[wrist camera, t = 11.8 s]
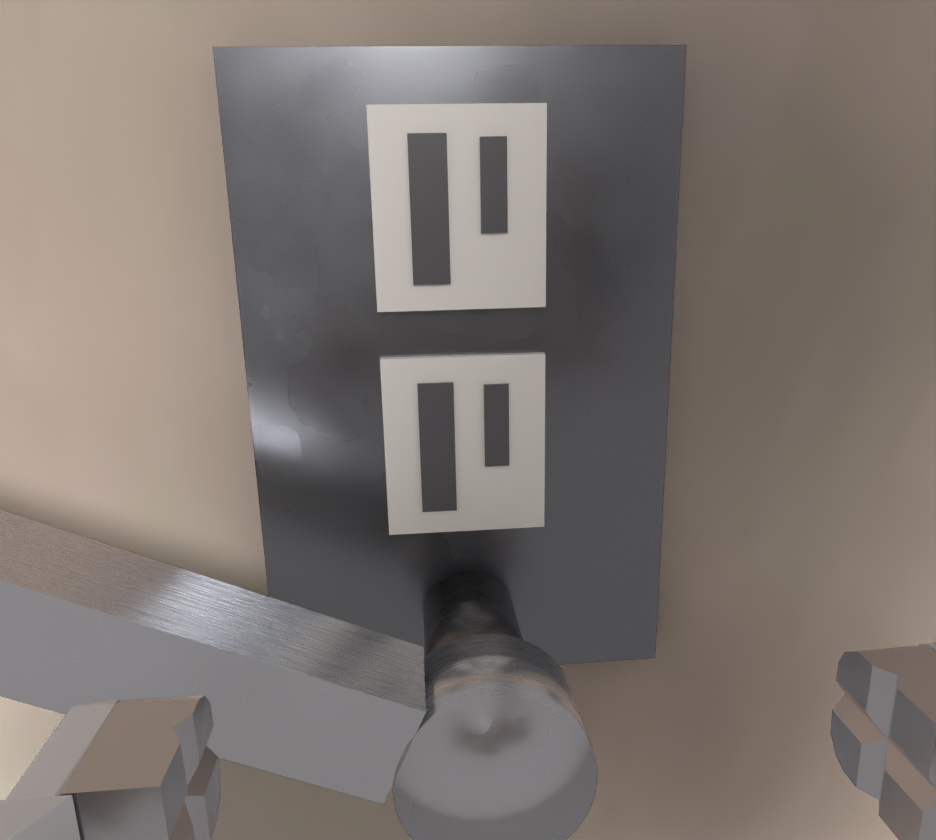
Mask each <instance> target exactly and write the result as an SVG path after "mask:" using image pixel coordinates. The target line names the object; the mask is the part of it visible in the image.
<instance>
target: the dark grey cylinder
mask: <svg viewBox="0 0 936 840" xmlns="http://www.w3.org/2000/svg"><path fill="white" fill-rule="evenodd" d="M423 620H424V643H425V656H427V655H428V654H429V653H430V652H432V651H434V650H435V649H437V648H438V647H440V646H442V645H444V644H446V643H448V642H450V641H453V640H456V639H459V638H462V637H467V636H471V635H479V634H500V635H508V636H512V637H516V638H520V639H522V640H523V638H522V635H521V631H520V628H519V624H518V621H517V617H516V613H515V610H514V606H513V603H512V600H511V597H510V595H509V593H508V591H507V590H506V589H505V587H504V586H503V585H502V584H501V583H500V582H498V581H497V580H496V579H494V578H492V577H490V576H487V575H485V574H481V573H474V572H467V573H460V574H456V575H453V576H451V577H449V578H447V579H445V580H443V581H442V582H440V583H439V584H438V585H437V586H436V587H435V588H434V589H433V590H432V591H431V593H430V594H429V596H428V598H427V600H426V603H425V606H424V612H423Z"/></svg>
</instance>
